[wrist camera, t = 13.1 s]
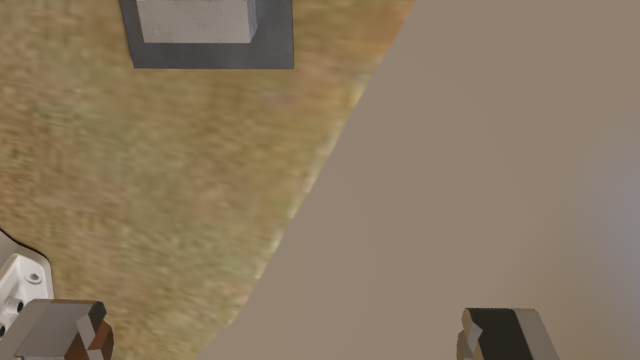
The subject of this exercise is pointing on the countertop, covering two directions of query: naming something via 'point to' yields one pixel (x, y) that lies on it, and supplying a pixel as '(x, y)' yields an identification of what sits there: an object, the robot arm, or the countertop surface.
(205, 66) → the grey slotted holder
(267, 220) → the countertop surface
